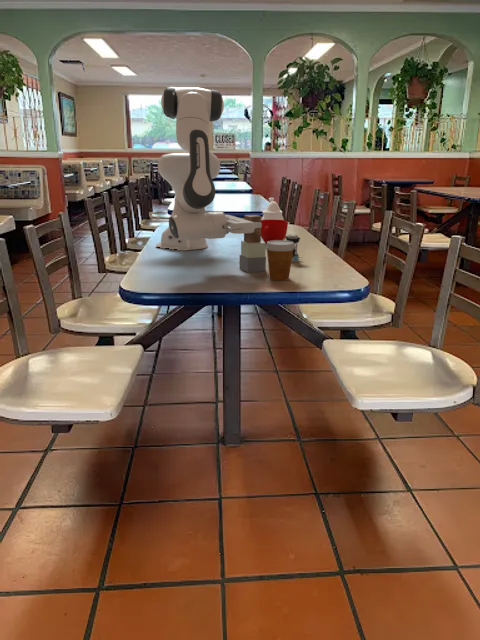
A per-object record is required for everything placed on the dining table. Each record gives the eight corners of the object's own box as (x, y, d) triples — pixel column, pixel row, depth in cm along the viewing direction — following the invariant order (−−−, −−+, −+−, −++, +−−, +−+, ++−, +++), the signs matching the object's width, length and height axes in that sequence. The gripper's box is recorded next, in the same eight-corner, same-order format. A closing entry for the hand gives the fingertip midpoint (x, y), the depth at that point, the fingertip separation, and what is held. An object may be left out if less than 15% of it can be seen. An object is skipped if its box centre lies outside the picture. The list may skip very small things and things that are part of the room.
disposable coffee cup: (263, 275, 169) (263, 240, 165) (290, 274, 169) (292, 239, 166) (266, 282, 160) (267, 245, 156) (296, 281, 160) (297, 244, 157)
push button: (301, 259, 193) (302, 234, 189) (303, 262, 188) (304, 236, 184) (284, 259, 193) (285, 234, 189) (285, 262, 188) (286, 236, 184)
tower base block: (247, 272, 173) (247, 258, 171) (239, 268, 179) (239, 254, 177) (265, 270, 175) (265, 256, 174) (257, 266, 181) (257, 253, 180)
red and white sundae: (255, 234, 251) (255, 197, 245) (277, 232, 256) (278, 196, 251) (266, 238, 240) (267, 200, 234) (289, 236, 245) (291, 199, 239)
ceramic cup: (251, 246, 219) (251, 223, 216) (264, 240, 234) (264, 218, 231) (279, 248, 214) (280, 225, 211) (290, 242, 229) (291, 220, 226)
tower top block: (247, 258, 171) (248, 243, 170) (241, 254, 177) (241, 240, 175) (265, 257, 174) (265, 242, 172) (257, 253, 179) (258, 239, 178)
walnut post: (249, 243, 171) (249, 216, 168) (243, 241, 175) (244, 215, 172) (260, 242, 173) (261, 216, 170) (255, 240, 176) (255, 214, 173)
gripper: (229, 219, 156) (268, 217, 162) (206, 212, 174) (242, 210, 179) (229, 239, 158) (268, 236, 164) (207, 230, 176) (242, 228, 181)
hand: (254, 222), depth 172 cm, fingers open, 8 cm apart
